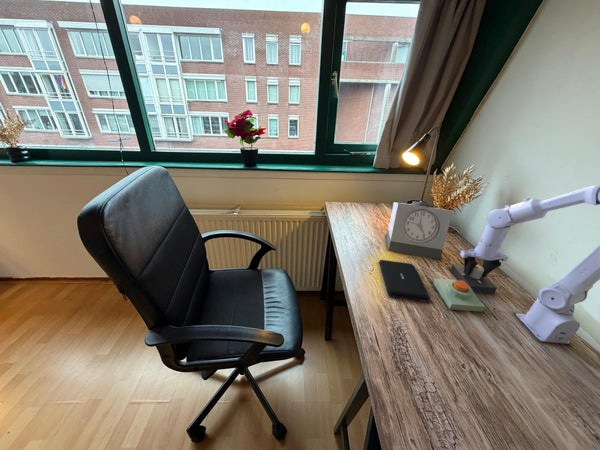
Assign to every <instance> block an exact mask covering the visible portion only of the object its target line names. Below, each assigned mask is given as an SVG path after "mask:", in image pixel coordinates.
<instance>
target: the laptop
mask: <svg viewBox="0 0 600 450" xmlns="http://www.w3.org/2000/svg"><path fill="white" fill-rule="evenodd" d="M378 264H379V267H380V271H381V274H382V275H381V276H382V278H383V281H384V285H385V289H386V293H387V295H388V296H389V297H393V298H399V299H407V300H414V301H422V302H428V301H431V298H430V295H429V292H428V291H427V289H426V287H425V285H424V283H423V281H422V279H421V276H420V275H419V273H418V270H417V268H416V267H415V265H413V263H409V262H402V261H394V260H386V259H380V260H379V261H378Z"/></svg>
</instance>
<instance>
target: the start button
mask: <svg viewBox="0 0 600 450" xmlns="http://www.w3.org/2000/svg"><path fill="white" fill-rule="evenodd" d="M455 280H456V281H455V282H454V284H453V287H454V288H455V289H456V290H458V291H460V292H467V290H468V288H469V285H468V284H467V283H465V282H464V281H461V280H458V279H455Z"/></svg>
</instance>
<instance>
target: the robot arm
mask: <svg viewBox="0 0 600 450" xmlns="http://www.w3.org/2000/svg"><path fill="white" fill-rule="evenodd" d="M582 204H588V205H591V206H592V205H593V206H598V205H600V184H596V185H591V186H586V187H581V188H579V189H576V190H573V191H570V192H566V193H564V194H561V195H557V196H554V197H551V198H548V199H544V200H542V199H541V200H540V199H538V198H532V199H531V198H530V197H528V198H524V199H522V202H518V203H515V204H506V205H504V207H503V208H495V209H493V210H491V211H489V212H488V213H487V216H486V222H487V223H486V224H487V225H486V226H485V228H484V230H483V232H482V234H481V236H480V239H479V241H478V243H477V244H476V246H475V247H474V248H471V249H462V250H461V251H460V253H459V256H460V257H461V258H462V259H463V263H464V264H463V265H464V273H465V275H466V276H469V275H470V273H471V271H472V270H473V268H474V267H475V266H476V265H479V263H478V262H477V260H476V259H480V260H483V263H482V266H481V267H483V268H484V272H483V274H482V277H485V276H486V277H487V276H488V275H489V274H490V273H491V272H492V271H494V270H496V269H497V268H500V267H501V266H502V262H506V261H507V260H508V258H509V256H508V255H507V254H506V253H505V252H503V253H502V252H499V250H500V248H501V247H502V244H503V242H504V240H505V239H506V237H507V235H508V233H509V231H510V229H511V227H513V226H516V225H519V224H522V223H527V222H532V221H535V220H538V219H543V218H545V216H546V215H547V214H548V212H551V211H555V210H559V209H564V208H568V207H572V206H576V205H582ZM501 261H502V262H501ZM599 281H600V243H599V244H598V245H597V246H596V247H595V248H594V249H593V250H592V251H590V253H588V254H587V255H586V256H585V257H584V258H583V259H582V260H580V261H579V262H578V263H577V264H576V265H575V266H574V267H573V268H572V269H571V270H570V271H569V272H568V273H566V274H565V275H564V276H562V277H560V278H559V279H558V280H556V281H555V282H554V283H553V284H551V285H547V286H544V287H542V288H540V289H539V290H538V297H537V298H536V299H535V301H534V303H532V305H531V307H530V308H529V310H528V311H527V312H526V313H516V314H515V315H516V317H517V318H518V319H519V320H520V322H522V324H523V325H524V326H526V328H528V330H529V331H530V332H531V333H532V334H533V335H534V336H535V337H536V339H537V340H539V341H540V342H544V343H553V344H565V345H566V344H567V345H568V344H570V343H571V341H570V339H571V338H573V336H574V335H575V334H576V333H577V331H579V329H580V326H581V325H580V323H579V321H578V320H577V319H576V317H575V315H574V313H575V309H576V307H575V305H576V304H580V303H582V302H584V301H586V300H587V298H588V294H589V293H588V292H589V291H590V290H591V289H592V288H593V287H594V285H595V284H596V283H597V282H599Z"/></svg>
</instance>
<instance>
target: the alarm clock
mask: <svg viewBox="0 0 600 450" xmlns="http://www.w3.org/2000/svg"><path fill="white" fill-rule="evenodd" d="M453 212H454V210H451V209H446V208H439V207H434V206H433V203H431V202H430V203H429V202H423V201H414V200H413V201H412V203H403V202H396V201H394V202H393V205H392V209H391V216H390V218H389V224H388V229H387V232H386V236H385V237H386V243H387V250H388V251H391V252H395V253H401V254H402V253H403V254H407V255H412V256H419V257H423V258H431V259H435V260H441V259H442V256H443V253H444V248H445V243H446V240H447V236H448V231H449V228H450V224H451V220H452V216H453Z"/></svg>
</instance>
